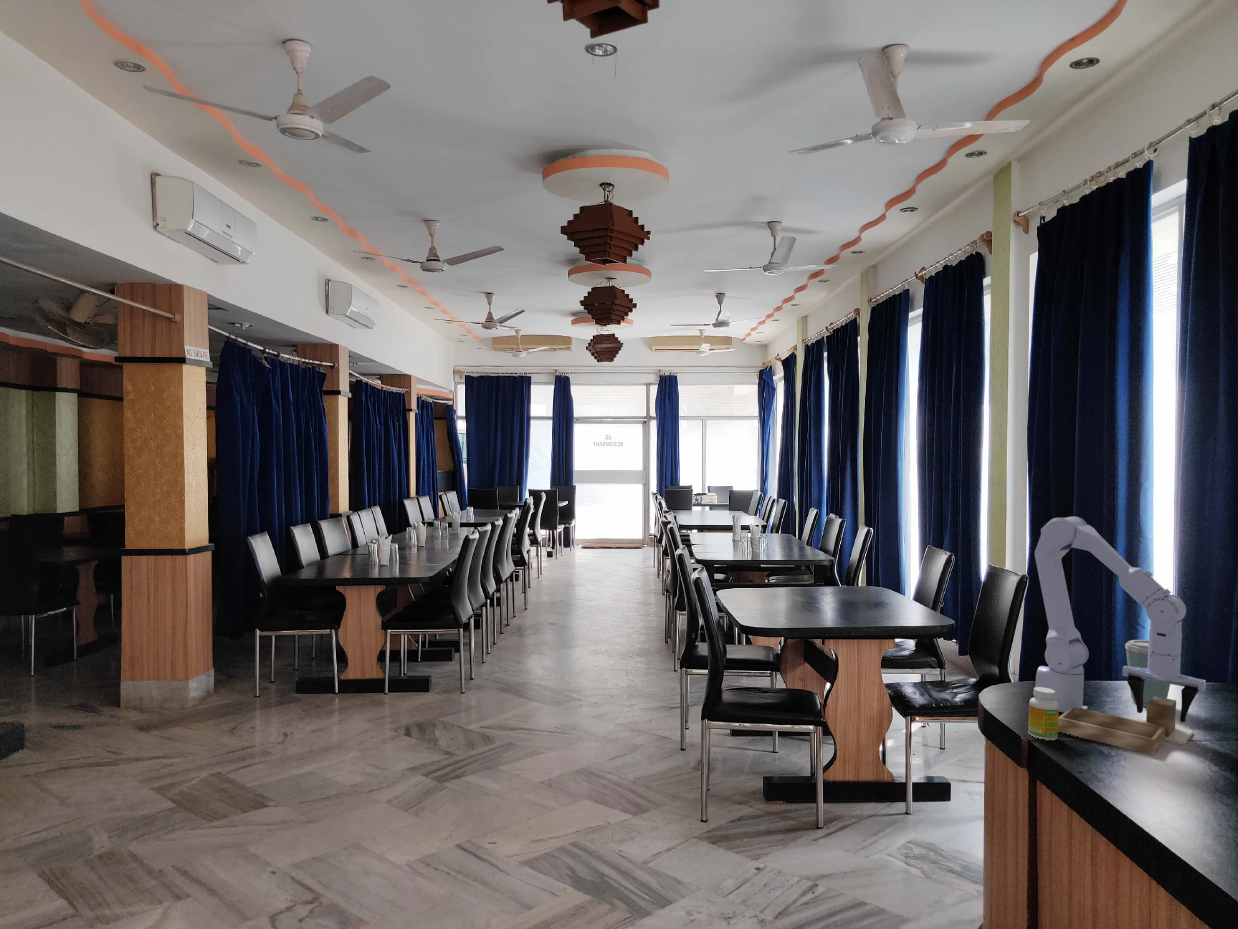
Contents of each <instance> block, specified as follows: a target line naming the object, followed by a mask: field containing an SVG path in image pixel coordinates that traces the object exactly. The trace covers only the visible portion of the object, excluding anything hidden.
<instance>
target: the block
mask: <svg viewBox="0 0 1238 929" xmlns="http://www.w3.org/2000/svg"><path fill="white" fill-rule="evenodd" d="M1176 716H1177V699H1176V700H1175V699H1170V698H1168V697H1167V698H1162V697H1157V696H1154V697H1153V698H1152V699H1151V700H1150V701H1149V702H1148V703H1147V707H1146V716H1145V718H1146V719H1145V720H1146V723H1151V724H1156V725H1160V726H1165V737H1169V736H1170V734H1171V733H1172V732H1173V730H1174V729H1175V727H1176Z"/></svg>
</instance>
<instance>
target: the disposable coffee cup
mask: <svg viewBox="0 0 1238 929" xmlns="http://www.w3.org/2000/svg"><path fill="white" fill-rule="evenodd" d="M1124 648H1125V654H1126V663H1127V666H1131V667H1139V668H1147V667H1148V649H1149V639H1132V640H1128V641H1127V642H1126V643H1125V644H1124ZM1170 687H1171V684H1167V683H1162V682H1157V681H1152V680H1146V679H1145V682H1144V691H1143V707H1146V708H1147V703H1148V702H1149V701H1150V700H1151V699H1152V698H1153V697H1154V696H1157V697H1162V698H1167V699H1168V696H1169V691H1170ZM1129 688H1130V687H1129ZM1130 698H1131V699H1132V702H1133V703H1134V704H1136V702H1135V699H1134V696H1133V693H1132V691H1131V688H1130Z"/></svg>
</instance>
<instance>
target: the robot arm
mask: <svg viewBox="0 0 1238 929" xmlns="http://www.w3.org/2000/svg"><path fill="white" fill-rule="evenodd" d="M1072 548H1074V549H1077V550H1078V549H1079V550H1084V551H1088V552H1089V553H1091V554H1092V555H1093V556H1094V557H1095V558H1097V559H1098V561H1100V562H1101V563H1102V564H1104V566H1106V567H1107V568H1108V569H1109V570H1111V571H1112V573H1114V574H1115V575H1116V576H1117V577H1118V579H1119V580H1118V582H1119V583H1118V584H1119V586H1120V587H1121V588H1122V589H1123V590H1124V591H1125V592H1126V593H1127V594H1128V595H1129V596H1130V597H1131V598H1132V599H1133V600H1134V601H1136V602H1137V603H1138V604H1139V605H1140V606H1141V607H1142V608H1144V609H1145V614H1146V616H1147V618H1148V620H1149V621H1150V622H1149V623H1150V624H1149V633H1148V640H1149V649H1148V667H1147V668H1139V667H1131V666H1128V665H1124V666H1123V667H1122V676H1123V677H1127V681H1126V682H1127V685H1128V687H1129V688H1131V690H1130V692H1131V691H1132V693H1133V696H1134V699H1135V702H1136V703H1135V705H1136V706H1135V707H1136V713H1137V714H1142V713H1143V712H1144V706H1143V691H1144V682H1145V679H1146V680H1152V681H1157V682H1162V683H1167V684H1170V685H1174V686H1179V687H1183V688H1182V689H1181V691H1180V692H1181V709H1180V717H1179V723H1185V722H1186V721H1187V716H1188V712H1189V710H1190V707H1191V705H1192V703H1193V701H1194V700H1195V698H1196V696H1197V695H1198V694H1199V691H1201V692H1204V691H1206V687H1207V686H1206V684H1207V683H1206V682H1207V681H1206V679H1202V678H1196V677H1193V676H1188V675H1184V674H1181V661H1182V659H1181V658H1182V657H1181V655H1182V639H1183V633H1182V629H1183V628H1182V625H1183V623H1182V622H1183V621H1182V620H1183V619H1184V618H1185V616H1186V614H1187V607H1186V604H1185V602H1184V601H1183V600H1182V599H1181V597H1180V596H1178V595H1175V594H1171V593H1172V592H1171V590H1169V589H1168V588H1164V587H1163V586H1162V585H1161V584H1159V582H1157V581H1156V580H1155V578H1153V577H1152V576H1153V575H1154V574H1153V573H1152V572H1151V571H1150V570H1148V569H1147V570H1144V569H1143V568H1142V567H1134V566H1132V565H1130V564H1129V563H1128V562H1127V561H1126V560H1125V559H1124V558H1123V556H1121V555H1120V553H1119V552H1117V550H1115V549H1114V548H1113V546H1111V544H1109V543H1108V542H1107V541H1106V540H1105V539H1104V538H1103V537H1102V535H1100V534H1099V533H1098V532H1097V530H1096V529H1095V528H1094V527H1093V526H1091V525H1090V524H1088V523H1087V522H1086V521H1085V520H1084V519H1083V518H1082V517H1079V516H1067V517H1054V518H1051V519H1050V520H1049V521H1047V523H1045V524H1044V525H1043V527H1041V528H1040V536H1039V539H1038V542H1037V545H1036V548H1035V550H1034V558H1035V563H1036V568H1037V573H1038V574H1037V575H1038V578H1039V585H1040V589H1041V594H1042V598H1043V604H1044V609H1045V614H1046V620H1047V624H1048V631H1047V635H1046V638H1045V644H1046V649H1045V652H1044V659H1045V662H1046V664H1047V665H1048V666H1045V665H1040V666H1038V668H1037V670H1036V674H1035V687H1044V688H1049V689H1052V690H1054V691H1055V699H1054V701H1056V702H1057V703H1058V705H1059V712H1060V713H1062V714H1063V713H1065V712H1066V711H1067V710H1068V709H1070V708H1071V707H1072V706H1074V707H1078V708H1083V709H1087V710H1089V709H1088V708H1089V707H1088V706H1086V705H1084V704H1083V703H1084V702H1083V701H1084V700H1083V699H1084V681H1085V669H1084V664H1085V663H1086V662H1087V661H1088V659H1089V655H1090V654H1089V650H1088V647H1087V645H1086V644H1085V642H1083V639H1082V637H1081V632H1080V631H1079V630H1078V629H1077V628H1076V627H1075V622H1074V617H1073V612H1072V607H1071V602H1070V597H1069V592H1068V589H1067V588H1068V586H1067V583H1066V581H1067V580H1066V576H1065V572H1064V568H1063V563H1062V562H1063V561H1062V558H1063V557H1064V556H1065V555H1066V554H1067V553H1068V552H1069V551H1070V549H1072ZM1035 687H1034V688H1035Z"/></svg>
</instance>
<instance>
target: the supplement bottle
mask: <svg viewBox="0 0 1238 929" xmlns="http://www.w3.org/2000/svg"><path fill="white" fill-rule="evenodd" d="M1032 694H1033V696H1034V697H1031V698H1030V700H1029V704H1028V723H1027V724H1028V726H1027V729H1028V730H1027V733H1028V735H1029V734H1030V735H1031V736H1030V735H1029V736H1030V737H1032V736H1033V737H1032V738H1034V737H1035V738H1034V739H1037V738H1039V739H1038V740H1041V739H1045V740H1044V741H1049V740H1051V741H1055V740H1057V739H1058V733H1059V732H1058V717H1059V705H1058V703H1057V702H1056V701H1054V699H1055V691H1054V690H1052V689H1049V688H1044V687H1033V692H1032Z"/></svg>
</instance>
